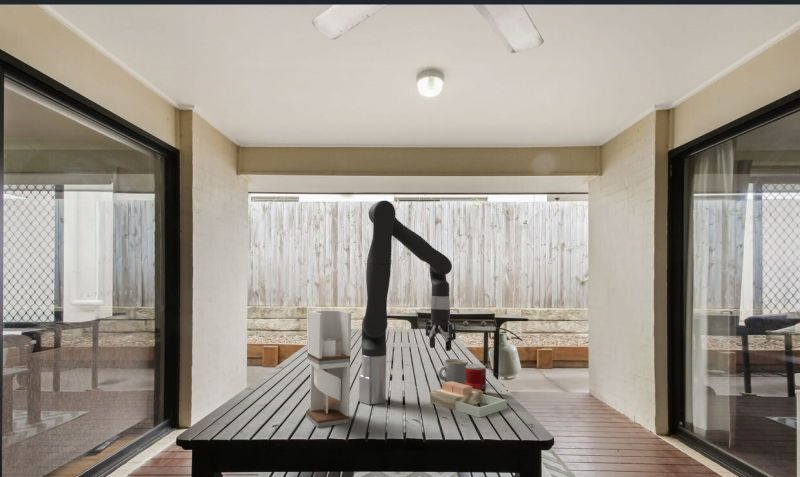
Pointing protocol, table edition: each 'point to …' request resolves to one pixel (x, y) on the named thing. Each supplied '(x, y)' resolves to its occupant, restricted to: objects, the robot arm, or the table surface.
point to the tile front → (462, 389)
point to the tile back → (449, 386)
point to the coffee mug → (454, 371)
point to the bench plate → (454, 398)
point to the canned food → (476, 376)
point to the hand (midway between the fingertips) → (440, 349)
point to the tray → (493, 406)
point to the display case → (329, 367)
